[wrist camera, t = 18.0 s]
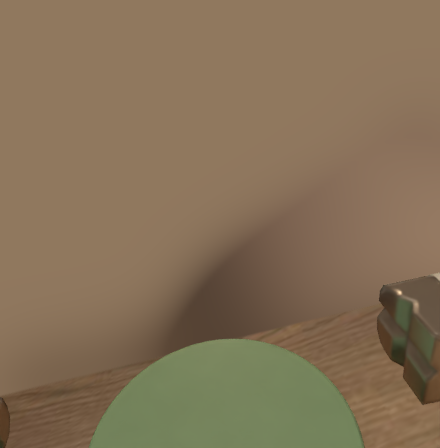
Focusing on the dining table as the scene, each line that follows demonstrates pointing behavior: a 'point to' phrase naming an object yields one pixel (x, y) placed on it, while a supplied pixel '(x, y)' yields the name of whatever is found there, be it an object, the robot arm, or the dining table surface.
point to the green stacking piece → (229, 402)
